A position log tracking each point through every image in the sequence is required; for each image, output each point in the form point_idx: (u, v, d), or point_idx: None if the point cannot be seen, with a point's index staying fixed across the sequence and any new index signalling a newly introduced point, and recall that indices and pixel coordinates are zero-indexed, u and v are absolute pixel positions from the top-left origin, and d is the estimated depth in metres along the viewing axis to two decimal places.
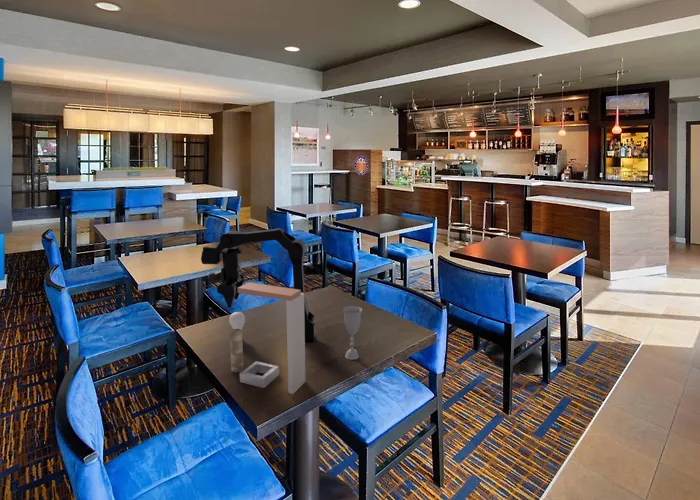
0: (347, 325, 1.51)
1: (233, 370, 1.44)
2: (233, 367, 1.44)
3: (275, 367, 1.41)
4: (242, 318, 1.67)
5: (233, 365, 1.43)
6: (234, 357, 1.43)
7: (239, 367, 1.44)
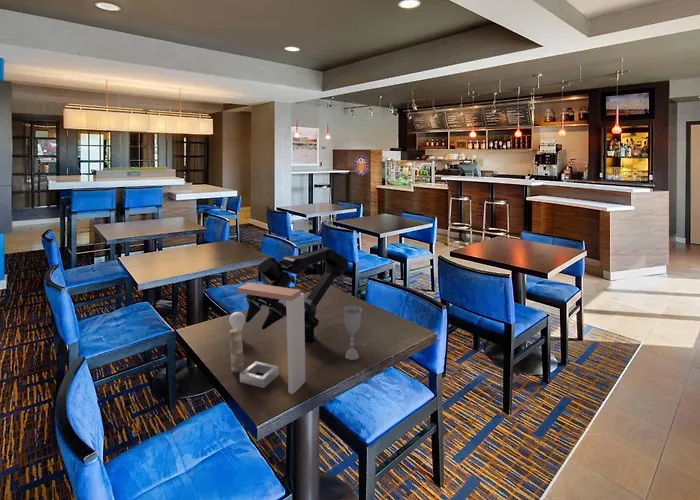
0: (347, 325, 1.51)
1: (233, 370, 1.44)
2: (233, 367, 1.44)
3: (275, 367, 1.41)
4: (242, 318, 1.67)
5: (233, 365, 1.43)
6: (234, 357, 1.43)
7: (239, 367, 1.44)
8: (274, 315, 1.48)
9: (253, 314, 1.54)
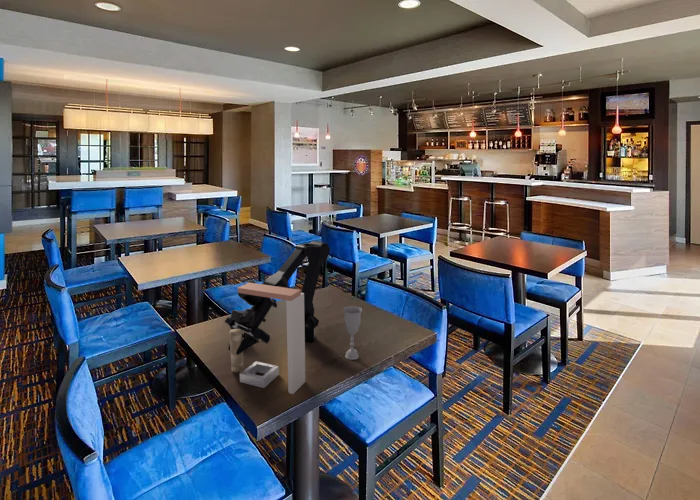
0: (347, 325, 1.51)
1: (233, 370, 1.44)
2: (233, 367, 1.44)
3: (275, 367, 1.41)
4: None
5: (233, 365, 1.43)
6: (234, 357, 1.43)
7: (239, 367, 1.44)
8: (249, 339, 1.43)
9: None
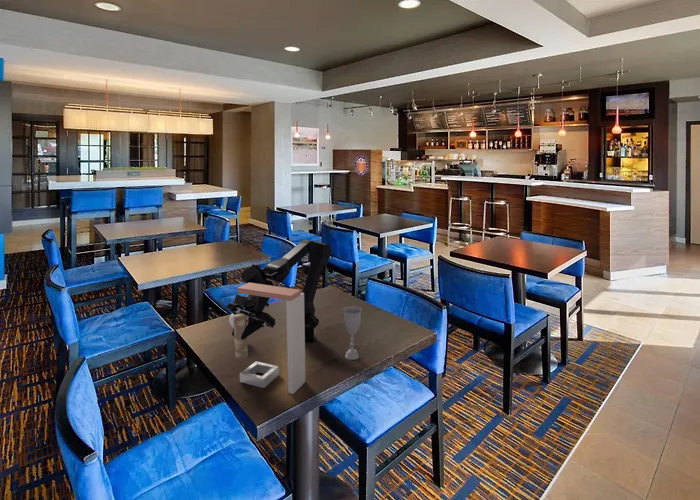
0: (347, 325, 1.51)
1: (237, 356, 1.41)
2: (237, 353, 1.41)
3: (275, 367, 1.41)
4: None
5: (237, 351, 1.40)
6: (238, 342, 1.40)
7: (244, 352, 1.41)
8: (254, 324, 1.41)
9: None
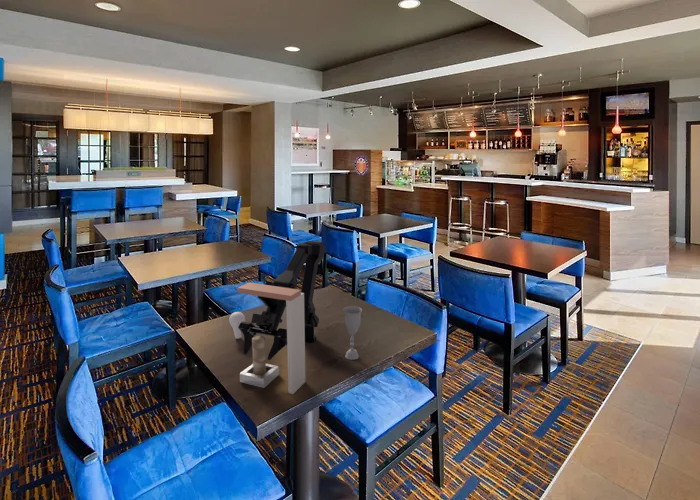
0: (347, 325, 1.51)
1: None
2: None
3: (275, 367, 1.41)
4: (242, 318, 1.67)
5: (257, 374, 1.38)
6: (258, 365, 1.37)
7: None
8: (278, 343, 1.38)
9: (250, 345, 1.41)
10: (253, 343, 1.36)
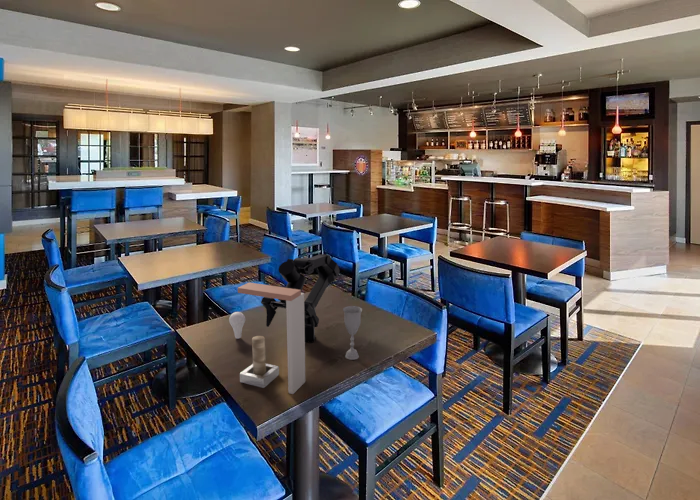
0: (347, 325, 1.51)
1: None
2: None
3: (275, 367, 1.41)
4: (242, 318, 1.67)
5: (257, 374, 1.38)
6: (258, 365, 1.37)
7: None
8: None
9: (271, 318, 1.53)
10: (253, 343, 1.36)
